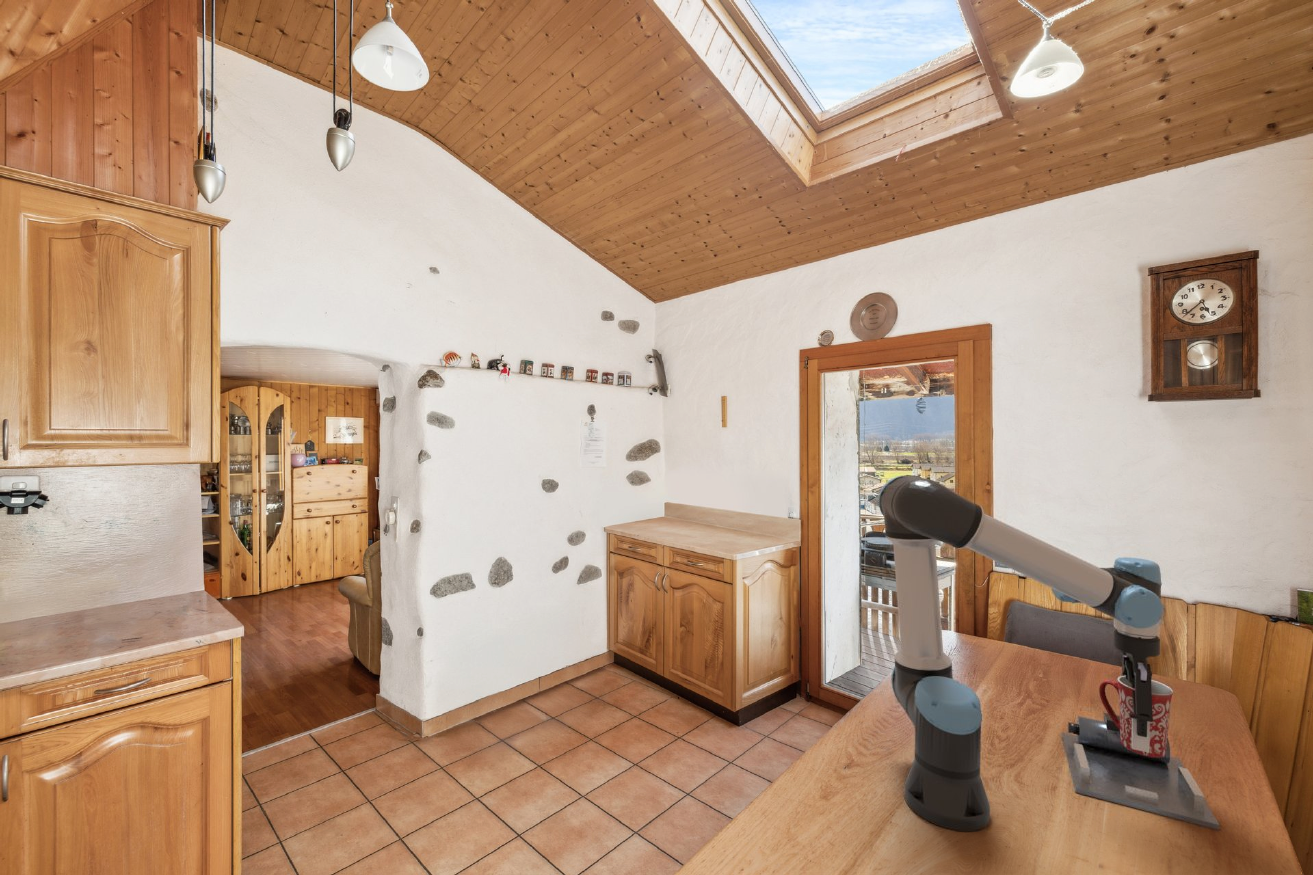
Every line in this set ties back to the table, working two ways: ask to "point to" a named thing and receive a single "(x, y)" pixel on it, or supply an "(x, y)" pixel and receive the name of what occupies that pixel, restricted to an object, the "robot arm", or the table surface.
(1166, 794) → the plate
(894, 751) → the table surface
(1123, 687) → the mug
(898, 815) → the table surface
